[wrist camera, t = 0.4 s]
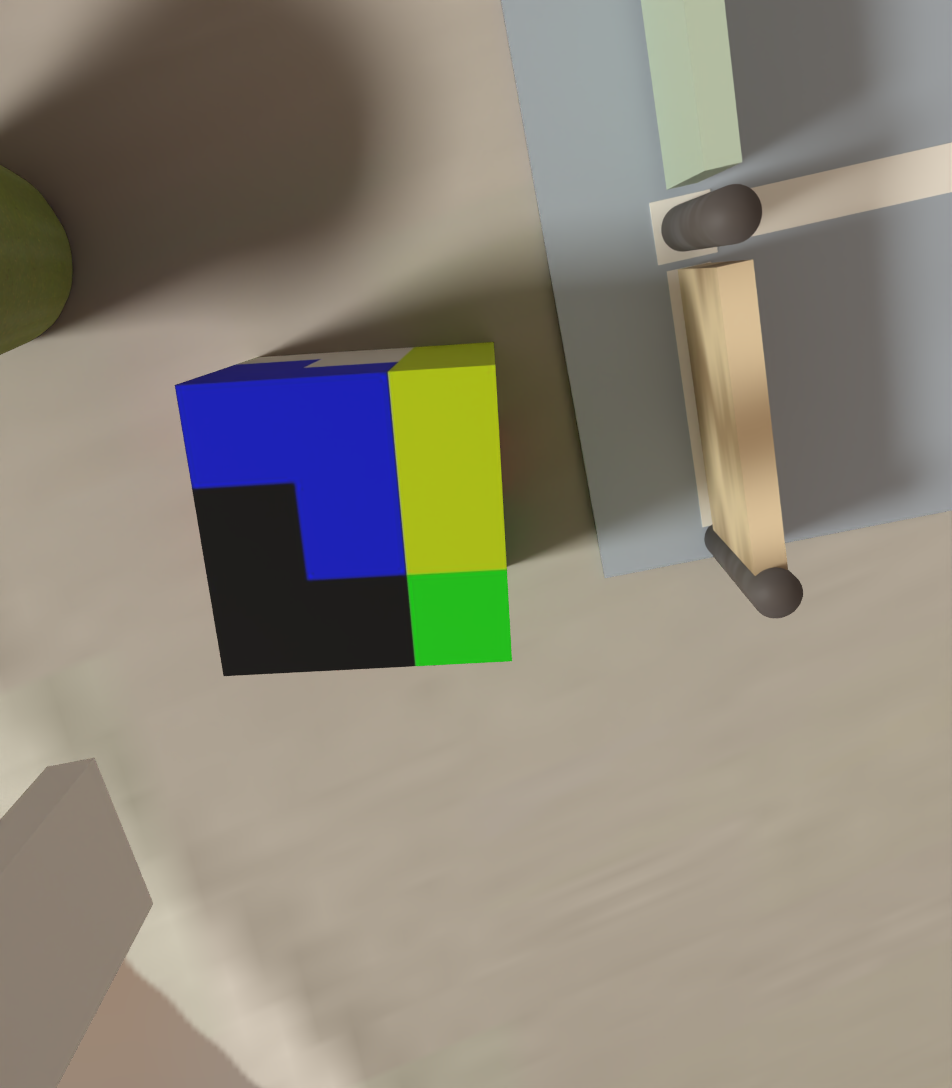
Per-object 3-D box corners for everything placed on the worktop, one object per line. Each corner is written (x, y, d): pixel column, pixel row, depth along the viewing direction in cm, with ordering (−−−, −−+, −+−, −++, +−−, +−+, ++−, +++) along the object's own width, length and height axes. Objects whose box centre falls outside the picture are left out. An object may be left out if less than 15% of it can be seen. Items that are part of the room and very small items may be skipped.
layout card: (475, -144, 30) (475, -149, 30) (987, -279, 29) (993, -285, 29) (604, 575, 38) (605, 578, 38) (1009, 496, 37) (1014, 498, 37)
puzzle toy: (258, 356, 36) (174, 385, 26) (493, 341, 36) (495, 364, 26) (288, 578, 39) (223, 676, 29) (506, 566, 39) (511, 660, 29)
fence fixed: (656, 209, 34) (701, 191, 27) (701, 199, 34) (758, 178, 27) (705, 558, 38) (756, 622, 31) (745, 550, 38) (805, 612, 31)
